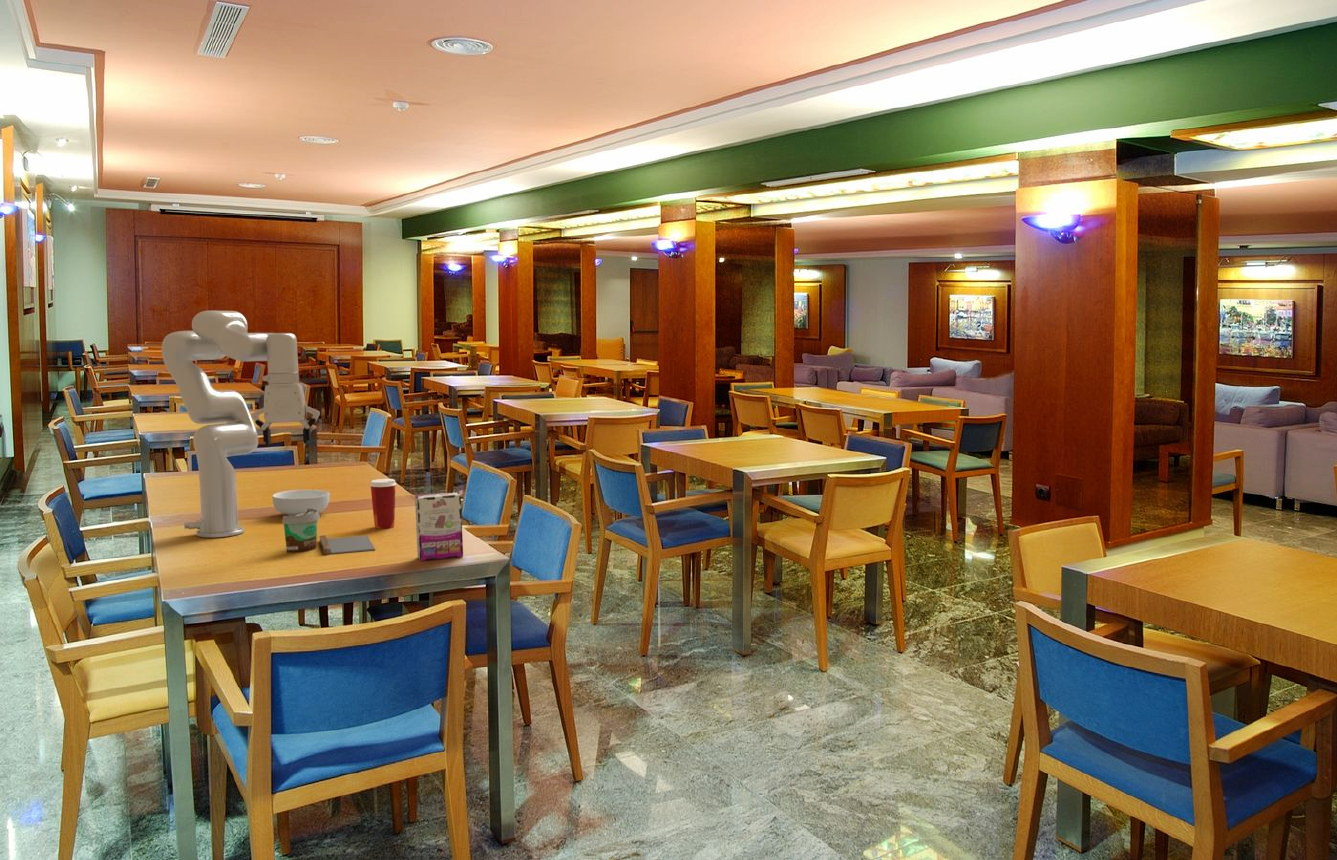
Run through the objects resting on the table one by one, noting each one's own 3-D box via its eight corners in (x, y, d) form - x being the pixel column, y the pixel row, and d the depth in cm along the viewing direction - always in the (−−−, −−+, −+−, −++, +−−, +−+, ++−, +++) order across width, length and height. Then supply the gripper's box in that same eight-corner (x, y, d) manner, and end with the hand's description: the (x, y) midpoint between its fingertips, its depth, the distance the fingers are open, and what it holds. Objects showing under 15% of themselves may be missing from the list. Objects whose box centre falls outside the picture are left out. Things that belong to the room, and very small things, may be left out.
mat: (331, 554, 255) (331, 552, 255) (326, 540, 272) (326, 539, 272) (374, 550, 260) (374, 548, 260) (367, 537, 276) (367, 535, 276)
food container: (304, 554, 255) (303, 517, 254) (283, 553, 256) (281, 516, 255) (330, 544, 267) (328, 508, 266) (309, 543, 268) (308, 507, 267)
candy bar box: (459, 553, 256) (458, 491, 254) (463, 557, 252) (462, 494, 250) (416, 557, 252) (414, 494, 250) (419, 561, 247) (417, 497, 245)
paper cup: (403, 525, 292) (401, 479, 291) (385, 530, 285) (384, 483, 284) (382, 523, 296) (381, 477, 294) (365, 528, 289) (363, 481, 287)
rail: (324, 554, 255) (324, 549, 255) (319, 541, 271) (319, 535, 271) (330, 554, 255) (330, 548, 255) (325, 540, 272) (325, 535, 272)
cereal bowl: (284, 523, 297) (283, 500, 296) (265, 515, 309) (264, 493, 309) (338, 515, 308) (338, 493, 307) (318, 508, 320) (317, 487, 320)
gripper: (245, 381, 254) (249, 446, 255) (314, 379, 256) (318, 444, 258) (253, 380, 261) (257, 443, 263) (320, 378, 264) (324, 441, 265)
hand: (287, 443), depth 260 cm, fingers open, 9 cm apart
